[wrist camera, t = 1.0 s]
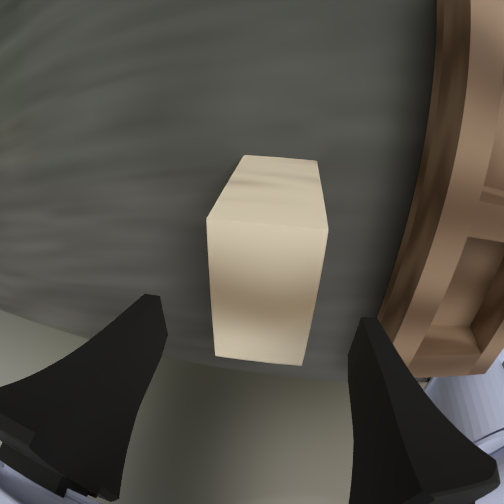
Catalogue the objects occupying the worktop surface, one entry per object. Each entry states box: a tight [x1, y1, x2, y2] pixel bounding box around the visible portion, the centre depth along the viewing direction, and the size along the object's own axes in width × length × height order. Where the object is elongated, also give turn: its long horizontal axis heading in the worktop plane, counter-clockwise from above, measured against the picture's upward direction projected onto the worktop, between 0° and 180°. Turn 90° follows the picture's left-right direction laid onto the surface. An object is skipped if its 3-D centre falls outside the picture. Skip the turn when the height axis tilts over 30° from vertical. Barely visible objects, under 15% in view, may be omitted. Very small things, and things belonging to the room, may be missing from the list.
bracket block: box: [206, 155, 328, 366], centre depth 16 cm, size 7×4×8 cm, turn 178°
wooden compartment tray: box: [377, 0, 504, 378], centre depth 14 cm, size 25×10×4 cm, turn 178°
